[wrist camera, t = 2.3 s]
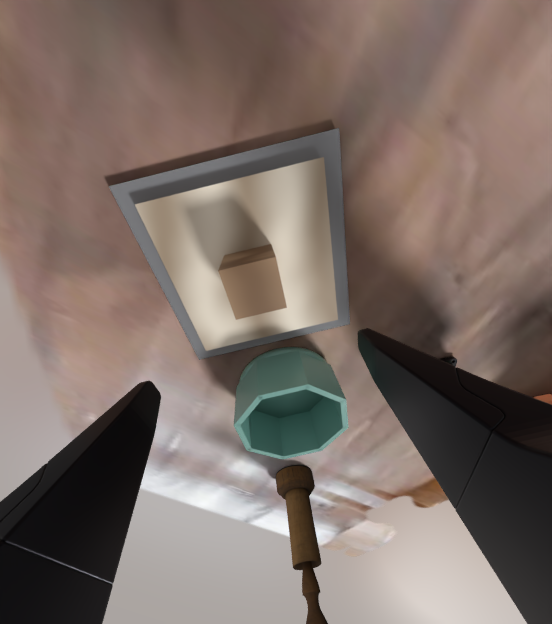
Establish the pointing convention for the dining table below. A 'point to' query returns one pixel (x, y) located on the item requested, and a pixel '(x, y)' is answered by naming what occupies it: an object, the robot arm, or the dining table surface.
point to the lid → (249, 253)
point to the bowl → (289, 404)
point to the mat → (229, 170)
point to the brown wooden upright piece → (302, 533)
